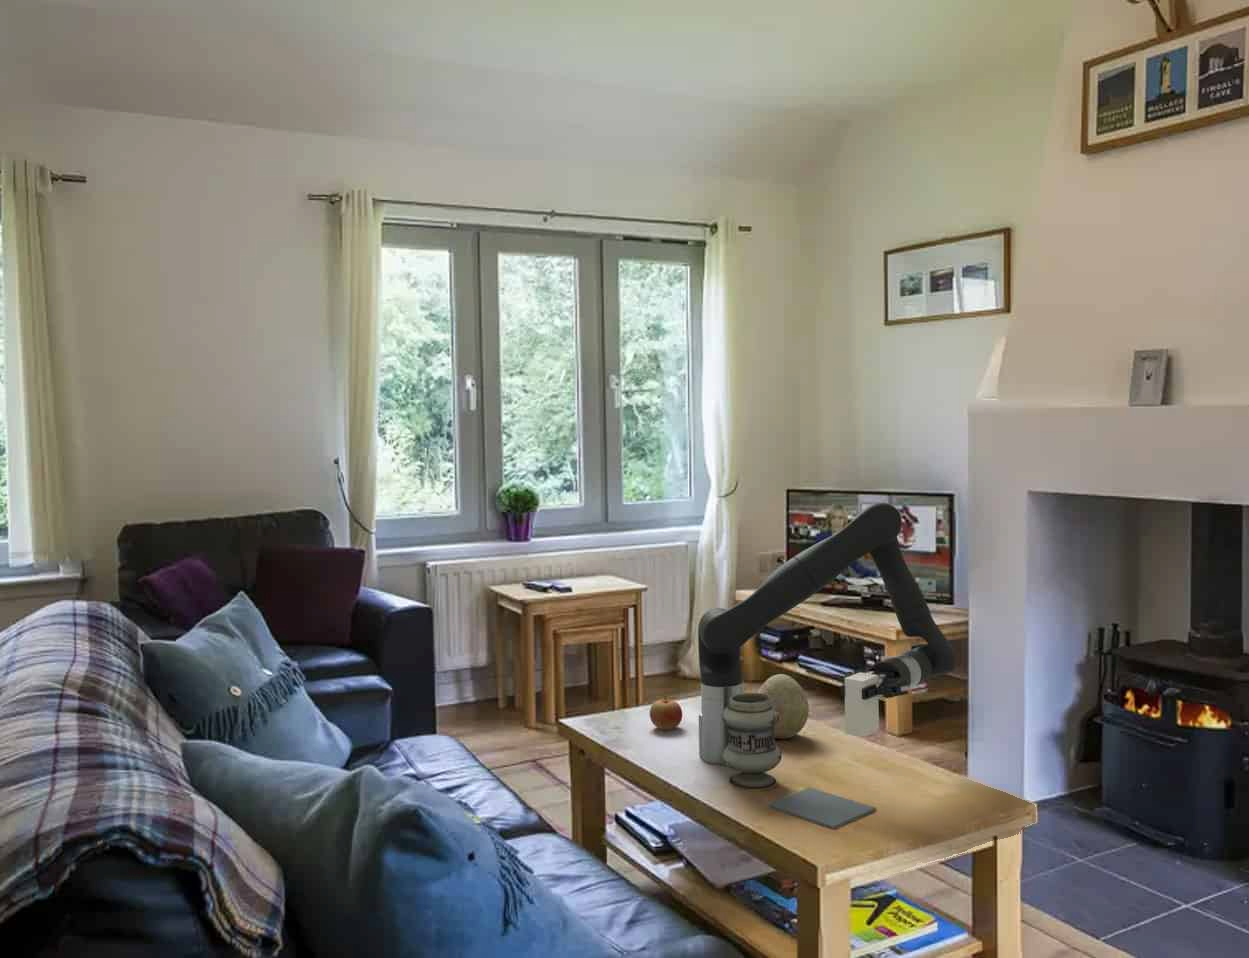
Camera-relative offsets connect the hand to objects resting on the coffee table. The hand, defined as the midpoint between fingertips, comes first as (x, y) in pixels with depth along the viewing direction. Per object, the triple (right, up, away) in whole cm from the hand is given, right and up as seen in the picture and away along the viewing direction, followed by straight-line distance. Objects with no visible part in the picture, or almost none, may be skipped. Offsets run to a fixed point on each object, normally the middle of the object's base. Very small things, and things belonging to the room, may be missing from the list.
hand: (853, 692), depth 204 cm
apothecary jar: (-18, -22, +15) cm, 32 cm away
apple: (-34, -20, +55) cm, 67 cm away
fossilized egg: (-7, -20, +45) cm, 50 cm away
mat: (-6, -22, -1) cm, 23 cm away
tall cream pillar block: (+2, -8, +3) cm, 9 cm away
